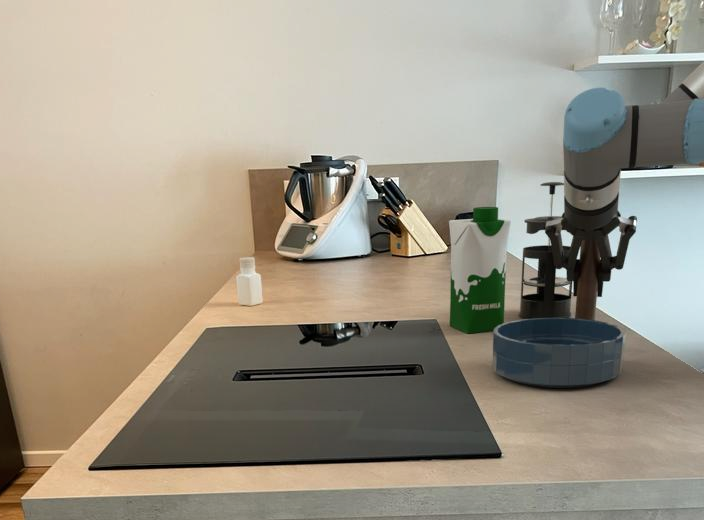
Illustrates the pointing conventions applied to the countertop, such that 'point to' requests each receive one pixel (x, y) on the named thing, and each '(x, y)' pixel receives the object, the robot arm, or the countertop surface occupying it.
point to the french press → (544, 274)
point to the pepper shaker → (249, 283)
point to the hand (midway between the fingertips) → (588, 289)
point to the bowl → (558, 351)
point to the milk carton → (478, 271)
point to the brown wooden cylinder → (587, 280)
